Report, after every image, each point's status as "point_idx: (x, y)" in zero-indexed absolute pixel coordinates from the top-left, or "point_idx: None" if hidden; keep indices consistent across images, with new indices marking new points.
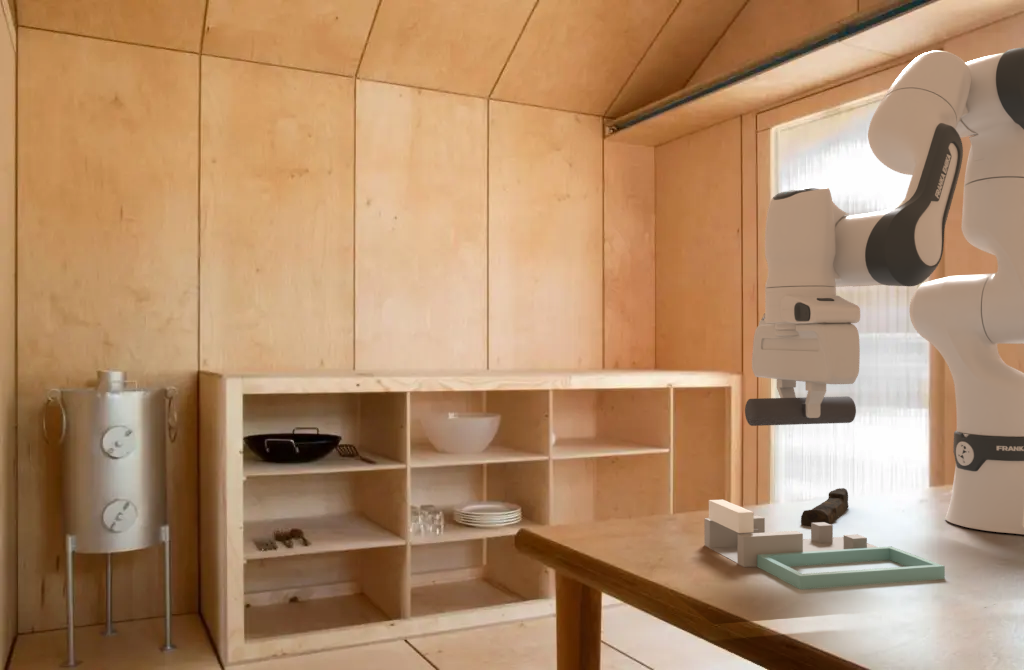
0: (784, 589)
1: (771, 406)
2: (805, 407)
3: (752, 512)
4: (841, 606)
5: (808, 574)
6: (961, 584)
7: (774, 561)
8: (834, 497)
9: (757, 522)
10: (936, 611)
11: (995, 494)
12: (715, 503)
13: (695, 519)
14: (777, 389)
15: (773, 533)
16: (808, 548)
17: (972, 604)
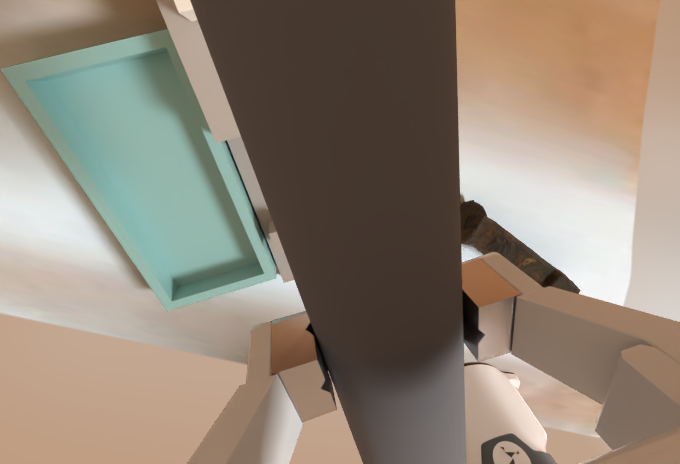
0: None
1: (251, 144)
2: (275, 354)
3: (178, 9)
4: (18, 132)
5: (23, 91)
6: (202, 312)
7: (119, 50)
8: (549, 277)
9: None
10: (51, 255)
11: None
12: None
13: (603, 32)
14: (658, 316)
15: (205, 76)
16: None
17: (106, 301)
